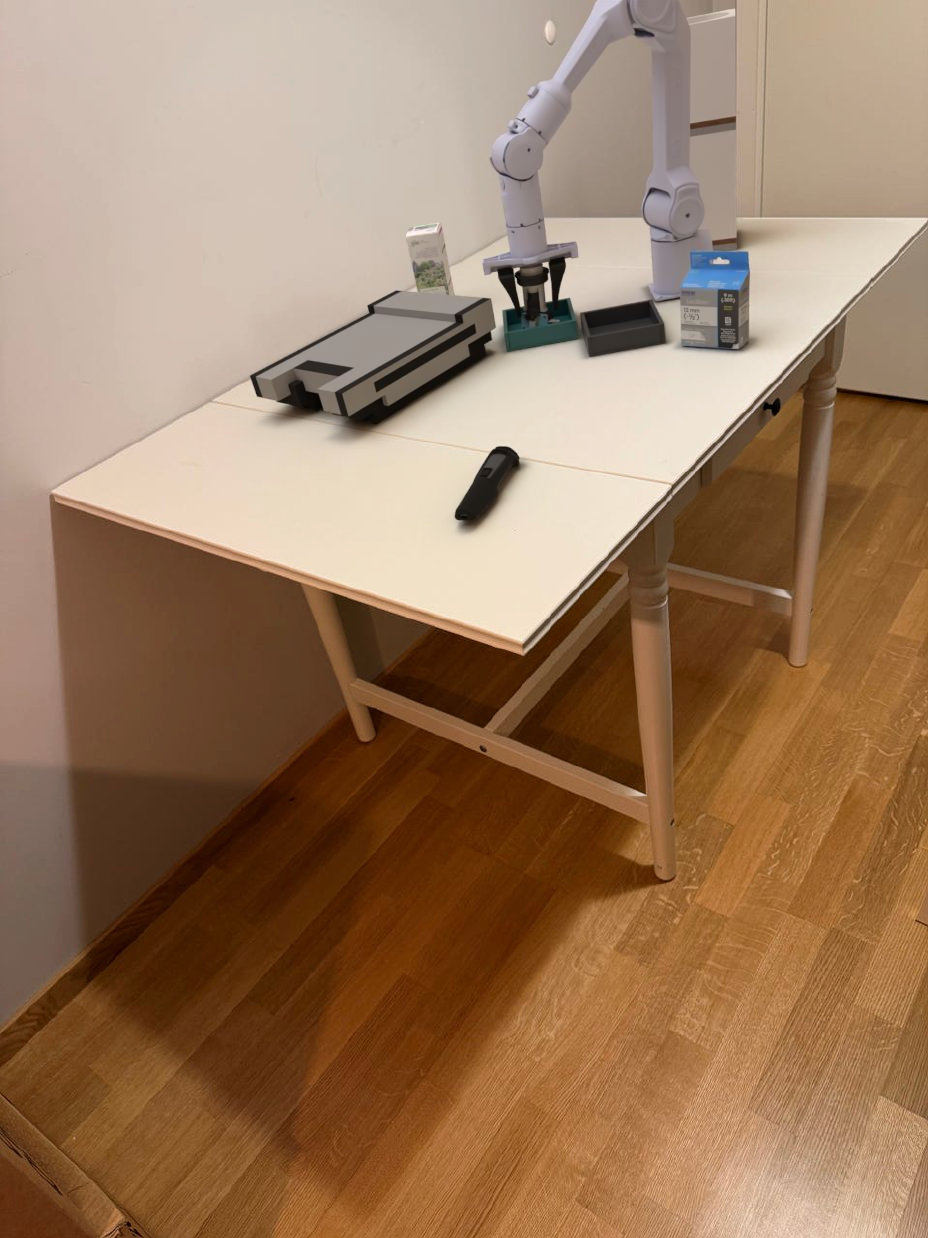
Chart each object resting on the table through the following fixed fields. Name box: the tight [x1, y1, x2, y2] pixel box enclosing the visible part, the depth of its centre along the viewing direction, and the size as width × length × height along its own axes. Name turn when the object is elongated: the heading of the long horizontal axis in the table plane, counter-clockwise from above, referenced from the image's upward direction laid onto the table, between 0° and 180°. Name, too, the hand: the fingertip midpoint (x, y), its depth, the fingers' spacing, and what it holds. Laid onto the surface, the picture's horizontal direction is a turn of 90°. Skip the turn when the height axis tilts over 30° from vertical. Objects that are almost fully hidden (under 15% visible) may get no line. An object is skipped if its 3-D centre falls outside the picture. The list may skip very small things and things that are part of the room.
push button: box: [514, 263, 560, 329], centre depth 142 cm, size 7×5×10 cm
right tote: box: [579, 299, 666, 357], centre depth 136 cm, size 11×11×3 cm
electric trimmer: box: [454, 445, 521, 522], centre depth 105 cm, size 4×16×3 cm, turn 159°
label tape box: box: [679, 250, 751, 350], centre depth 125 cm, size 9×4×12 cm, turn 53°
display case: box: [686, 8, 738, 251], centre depth 155 cm, size 11×11×35 cm
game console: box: [249, 290, 497, 425], centre depth 138 cm, size 21×32×8 cm, turn 139°
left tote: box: [501, 297, 579, 352], centre depth 144 cm, size 11×11×3 cm
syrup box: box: [405, 222, 456, 295], centre depth 159 cm, size 6×6×14 cm
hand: (537, 311), depth 143 cm, fingers closed on push button, 5 cm apart
